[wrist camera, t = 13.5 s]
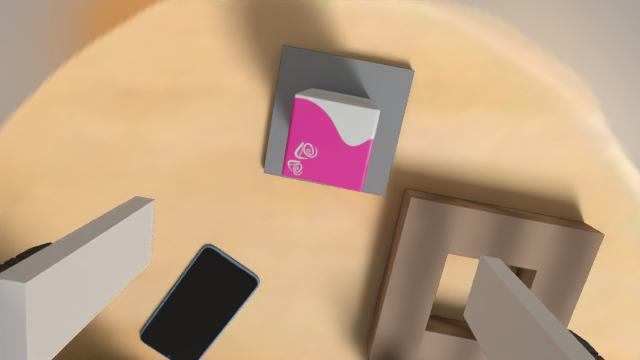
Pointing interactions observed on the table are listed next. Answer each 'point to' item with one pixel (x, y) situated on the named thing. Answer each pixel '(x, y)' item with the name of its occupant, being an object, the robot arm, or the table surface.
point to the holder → (473, 241)
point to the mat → (347, 78)
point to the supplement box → (330, 138)
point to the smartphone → (199, 306)
